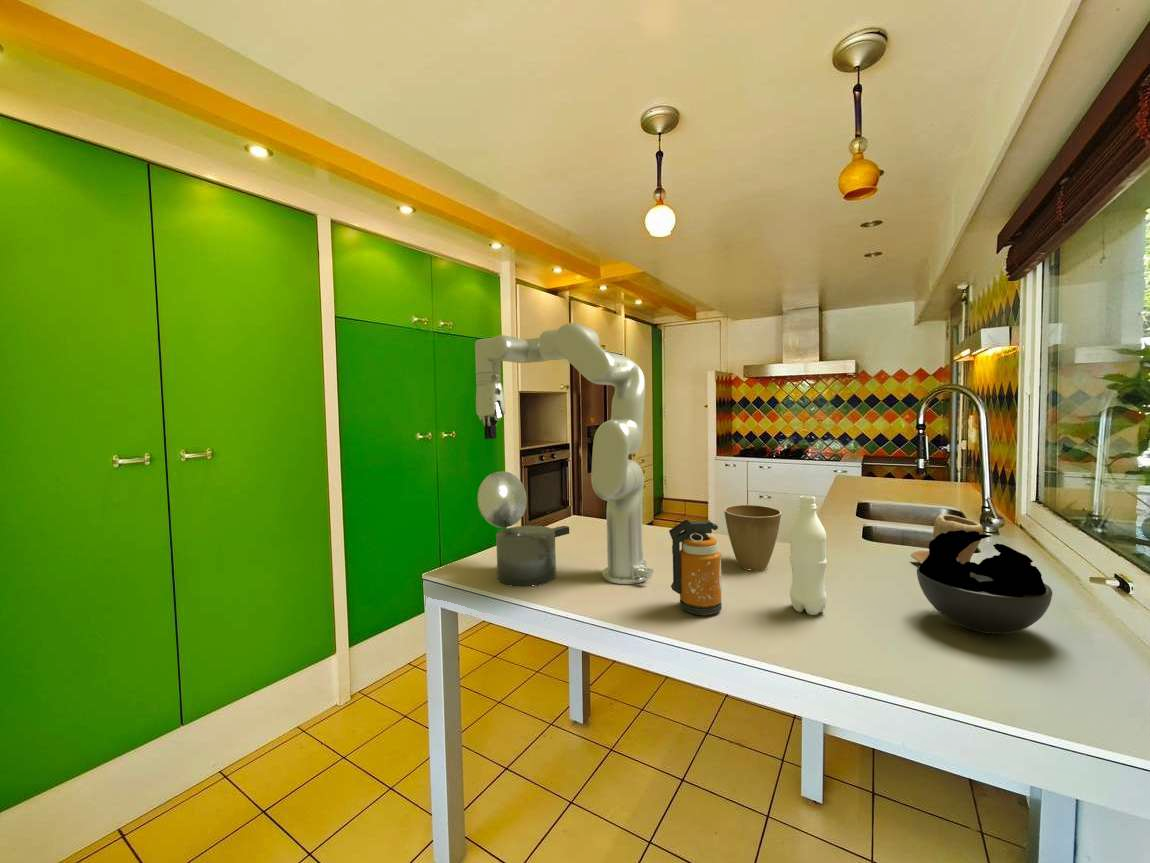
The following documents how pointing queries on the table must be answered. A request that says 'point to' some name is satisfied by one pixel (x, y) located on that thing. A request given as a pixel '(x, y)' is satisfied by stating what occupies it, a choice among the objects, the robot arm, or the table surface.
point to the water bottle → (808, 559)
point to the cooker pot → (527, 554)
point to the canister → (696, 567)
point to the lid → (502, 499)
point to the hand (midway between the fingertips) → (490, 438)
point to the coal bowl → (983, 585)
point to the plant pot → (752, 533)
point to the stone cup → (953, 524)
